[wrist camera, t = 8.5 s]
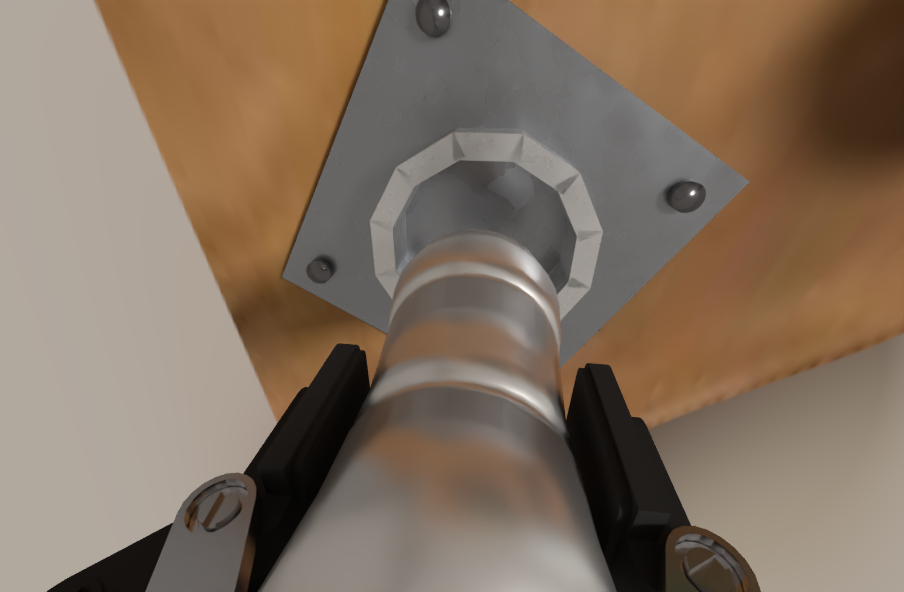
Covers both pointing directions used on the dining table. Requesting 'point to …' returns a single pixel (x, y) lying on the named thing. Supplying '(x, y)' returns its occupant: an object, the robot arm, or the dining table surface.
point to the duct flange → (500, 166)
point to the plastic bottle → (456, 444)
